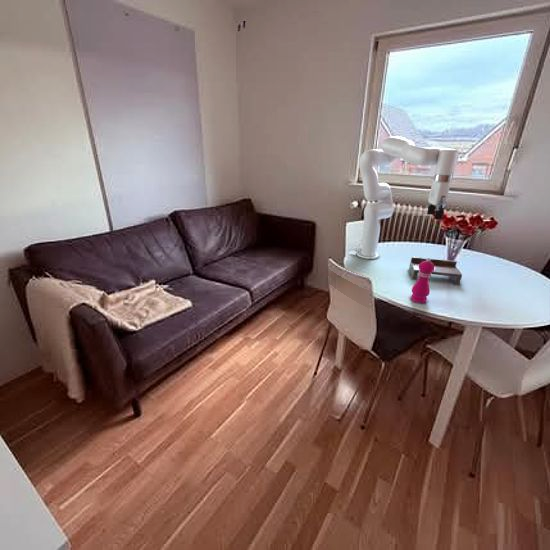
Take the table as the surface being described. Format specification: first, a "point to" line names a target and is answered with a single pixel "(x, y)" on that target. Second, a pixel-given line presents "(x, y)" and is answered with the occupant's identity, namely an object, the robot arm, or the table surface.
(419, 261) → the shelf
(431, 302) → the table surface
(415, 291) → the pepper mill
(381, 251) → the table surface
